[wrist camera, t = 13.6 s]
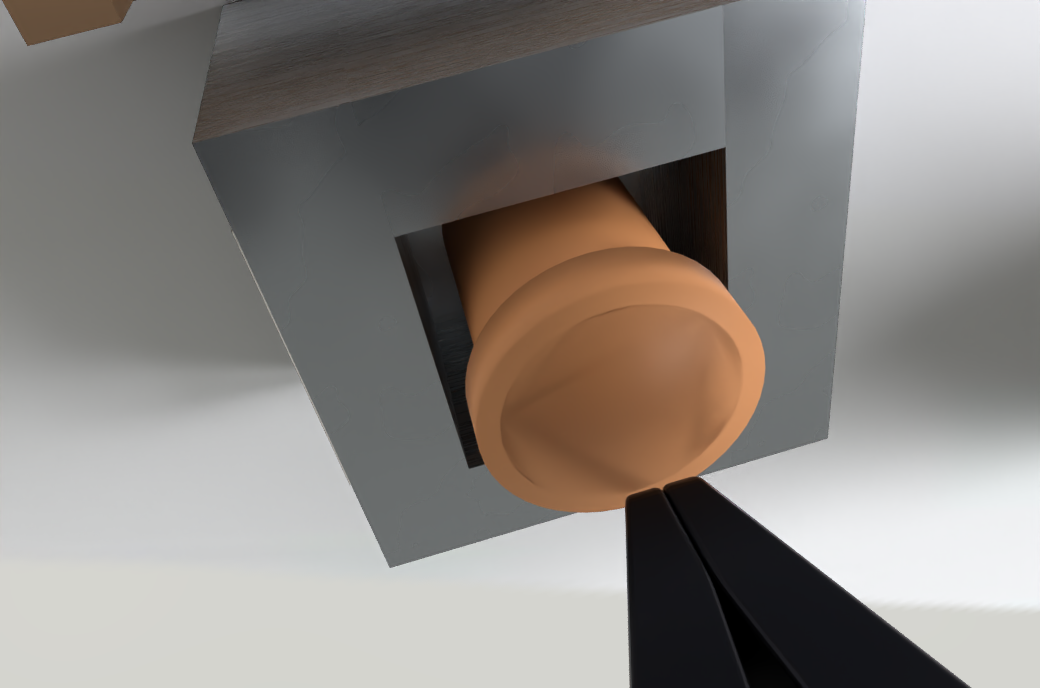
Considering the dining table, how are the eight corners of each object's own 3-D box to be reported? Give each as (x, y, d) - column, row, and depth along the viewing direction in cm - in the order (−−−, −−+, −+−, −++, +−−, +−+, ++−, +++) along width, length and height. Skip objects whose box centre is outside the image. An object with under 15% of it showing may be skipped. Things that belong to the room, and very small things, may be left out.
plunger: (646, 279, 16) (763, 466, 12) (452, 333, 15) (507, 543, 12) (627, 88, 13) (767, 244, 9) (397, 149, 13) (444, 334, 9)
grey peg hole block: (706, 274, 19) (827, 438, 15) (358, 371, 18) (378, 571, 14) (690, -113, 14) (868, -34, 10) (210, 8, 13) (174, 148, 9)
